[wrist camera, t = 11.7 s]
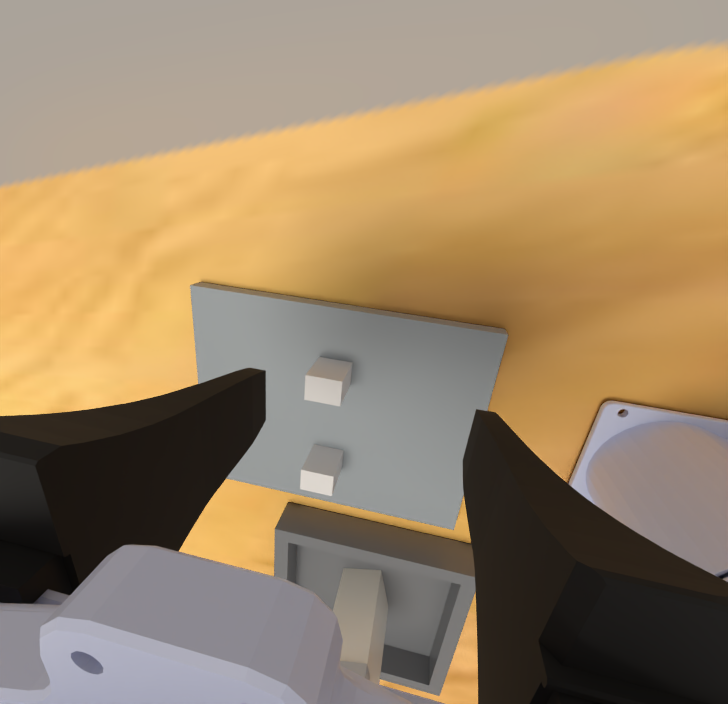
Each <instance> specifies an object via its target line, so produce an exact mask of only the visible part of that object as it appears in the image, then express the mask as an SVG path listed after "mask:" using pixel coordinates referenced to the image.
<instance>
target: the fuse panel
mask: <svg viewBox="0 0 728 704" xmlns="http://www.w3.org/2000/svg"><path fill="white" fill-rule="evenodd" d="M190 289H191V301H192V313H193V325H194V337H195V348H196V360H197V372H198V384H200V383H203V382H206V381H209V380H211V379H214V378H217V377H220V376H223V375H226V374H229V373H232V372H235V371H238V370H241V369H245V368H255V369H260V370H266V421H265V423H264V425H263V427H262V428H261V430H260V432H259V434H258V436H257V437H256V439H255V441H254V442H253V444H252V445H251V447H250V448H249V449H248V451H247V452H246V453H245V455H244V456H243V457H242V459H241V460H240V461H239V462H238V464H237V465H236V466H235V468H234V469H233V470H232V471H231V473H230V474H229V475H228V477H227V479H231V480H236V481H240V482H245V483H249V484H253V485H258V486H262V487H267V488H271V489H275V490H280V491H284V492H289V493H293V494H298V495H302V496H306V497H311V498H315V499H320V500H324V501H328V502H333V503H337V504H342V505H346V506H350V507H355V508H359V509H364V510H368V511H372V512H377V513H381V514H386V515H390V516H395V517H399V518H403V519H408V520H412V521H417V522H421V523H425V524H430V525H434V526H439V527H443V528H447V529H452V530H454V527H455V524H456V520H457V517H458V513H459V510H460V506H461V502H462V499H463V495H464V491H463V457H464V453H465V449H466V445H467V442H468V438H469V434H470V430H471V427H472V423H473V419H474V415H475V411H476V409H478V410H484V411H487V410H488V406H489V402H490V399H491V395H492V392H493V388H494V385H495V381H496V377H497V374H498V370H499V367H500V363H501V360H502V356H503V352H504V349H505V345H506V342H507V338H508V333H507V332H506V330H505V329H502V328H496V327H489V326H483V325H476V324H470V323H463V322H457V321H450V320H444V319H437V318H431V317H424V316H418V315H411V314H405V313H398V312H392V311H386V310H379V309H373V308H366V307H360V306H353V305H347V304H340V303H334V302H327V301H321V300H314V299H308V298H301V297H295V296H288V295H282V294H275V293H269V292H262V291H256V290H249V289H243V288H236V287H230V286H223V285H217V284H210V283H204V282H199V283H196V284H193V285H190Z"/></svg>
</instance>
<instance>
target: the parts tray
mask: <svg viewBox="0 0 728 704" xmlns="http://www.w3.org/2000/svg"><path fill="white" fill-rule="evenodd" d="M344 568H349V569H368V570H381V572H382V577H383V582H384V587H385V592H386V597H387V602H388V614H387V622H386V631H385V639H384V648H383V656H382V665H381V673H380V679H382V680H385V681H389V682H392V683H396V684H399V685H403V686H406V687H410V688H413V689H417V690H420V691H424V692H427V693H431V694H434V695H438V696H440V693H441V690H442V687H443V684H444V681H445V678H446V675H447V672H448V669H449V667H450V664H451V661H452V658H453V655H454V652H455V649H456V646H457V643H458V640H459V638H460V635H461V632H462V629H463V626H464V623H465V620H466V617H467V614H468V611H469V608H470V606H471V603H472V600H473V597H474V594H475V591H476V588H475V568H474V558H473V550H472V544H468V543H464V542H460V541H455V540H451V539H447V538H442V537H438V536H434V535H429V534H425V533H421V532H416V531H412V530H408V529H403V528H399V527H395V526H390V525H386V524H382V523H377V522H373V521H369V520H364V519H360V518H356V517H351V516H347V515H343V514H338V513H334V512H329V511H325V510H321V509H316V508H312V507H308V506H303V505H299V504H295V503H290V502H288V504H287V506H286V508H285V510H284V512H283V514H282V516H281V518H280V520H279V522H278V524H277V526H276V528H275V561H274V577H278V578H282V579H286V580H288V581H290V582H292V583H295V584H297V585H299V586H301V587H304V588H306V589H308V590H310V591H312V592H314V593H315V594H316V595H317V596H318V597H319V598H320V599H321V600H322V601H323V602H324V603H325V604H326V605H327V606H328V607H329V608H330V609H331V610H332V611H333V608H334V604H335V600H336V596H337V592H338V588H339V584H340V580H341V577H342V573H343V569H344Z"/></svg>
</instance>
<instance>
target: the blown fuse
mask: <svg viewBox="0 0 728 704" xmlns="http://www.w3.org/2000/svg"><path fill="white" fill-rule="evenodd" d="M333 612H334V614H335V615H336V617H337V619H338V623H339V627H340V631H341V634H342V638H343V643H342V650H341V658H340V665H341V666H343V667H344V668H346V669H348V670H350V671H352V672H354V673H356V674H358V675H360V676H362V677H364V678H366V679H368V680H370V681H372V682H373V683H375V684H379V682H380V673H381V665H382V656H383V648H384V639H385V631H386V622H387V614H388V602H387V597H386V592H385V587H384V582H383V577H382V572H381V570H368V569H349V568H344V569H343V573H342V577H341V580H340V584H339V588H338V592H337V596H336V600H335V604H334V608H333Z"/></svg>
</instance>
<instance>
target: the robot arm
mask: <svg viewBox="0 0 728 704" xmlns="http://www.w3.org/2000/svg"><path fill="white" fill-rule="evenodd" d="M622 409H625V411H624V412H623V413H621V414H618V412H619V410H622ZM265 421H266V370H260V369H255V368H245V369H241V370H238V371H235V372H232V373H229V374H226V375H223V376H220V377H217V378H214V379H211V380H209V381H206V382H203V383H200V384H197V385H194V386H191V387H187V388H184V389H181V390H178V391H175V392H171V393H168V394H164V395H161V396H157V397H153V398H149V399H144V400H140V401H136V402H131V403H126V404H120V405H114V406H108V407H102V408H96V409H89V410H81V411H72V412H62V413H52V414H39V415H18V416H0V704H444V703H441V702H437V701H434V700H431V699H427V698H424V697H420V696H417V695H413V694H410V693H406V692H403V691H399V690H396V689H392V688H389V687H385V686H382V685H379V684H375V683H373V682H372V681H370V680H368V679H366V678H364V677H362V676H360V675H358V674H356V673H354V672H352V671H350V670H348V669H346V668H344V667H343V666H341V665H340V658H341V650H342V643H343V638H342V634H341V631H340V627H339V623H338V619H337V617H336V615H335V614H334V612H333V611H332V610H331V609H330V608H329V607H328V606H327V605H326V604H325V603H324V602H323V601H322V600H321V599H320V598H319V597H318V596H317V595H316V594H315V593H314V592H312V591H310V590H308V589H306V588H304V587H301V586H299V585H297V584H295V583H292V582H290V581H288V580H286V579H282V578H278V577H274V576H270V575H267V574H263V573H259V572H255V571H251V570H247V569H243V568H240V567H236V566H232V565H228V564H224V563H220V562H216V561H213V560H209V559H205V558H201V557H197V556H193V555H189V554H186V553H182V552H178V551H179V549H180V548H181V546H182V544H183V542H184V541H185V539H186V537H187V536H188V534H189V532H190V530H191V529H192V527H193V526H194V524H195V522H196V521H197V519H198V518H199V516H200V514H201V513H202V511H203V510H204V508H205V506H206V505H207V503H208V502H209V500H210V499H211V498H212V496H213V495H214V493H215V492H216V491H217V489H218V488H219V487H220V486H221V484H222V483H223V482H224V480H225V479H226V478H227V477H228V475H229V474H230V473H231V471H232V470H233V469H234V468H235V466H236V465H237V464H238V462H239V461H240V460H241V459H242V457H243V456H244V455H245V453H246V452H247V451H248V449H249V448H250V447H251V445H252V444H253V442H254V441H255V439H256V437H257V436H258V434H259V432H260V430H261V428H262V427H263V425H264V423H265ZM463 491H464V498H465V505H466V511H467V518H468V524H469V531H470V537H471V544H472V550H473V558H474V568H475V588H476V611H477V640H478V704H728V420H723V419H717V418H712V417H706V416H700V415H694V414H688V413H683V412H677V411H671V410H665V409H659V408H654V407H648V406H642V405H636V404H630V403H625V402H619V401H607V402H605V403H603V404H602V406H601V407H600V410H599V412H598V414H597V417H596V419H595V422H594V424H593V426H592V429H591V431H590V433H589V436H588V438H587V441H586V443H585V445H584V448H583V450H582V452H581V455H580V457H579V459H578V462H577V464H576V467H575V469H574V471H573V474H572V476H571V478H570V481H569V483H568V484H567V483H566V482H565V481H564V480H563V479H561V478H560V477H559V476H558V475H557V474H556V473H554V472H553V471H552V470H551V469H550V468H549V467H548V466H547V465H546V464H545V463H544V462H543V461H542V460H540V459H539V458H538V457H537V456H536V455H535V454H534V453H533V452H532V451H531V450H530V449H529V448H528V447H527V446H526V444H525V443H524V442H523V441H522V440H521V439H520V438H519V437H518V436H517V435H516V434H515V433H514V432H513V431H512V429H511V428H510V427H509V426H508V425H507V424H506V423H505V422H504V421H503V420H502V419H501V417H500V416H499V415H498V414H496V413H495V412H489V411H484V410H478V409H476V411H475V415H474V419H473V423H472V427H471V430H470V434H469V438H468V442H467V445H466V449H465V453H464V457H463Z"/></svg>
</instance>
